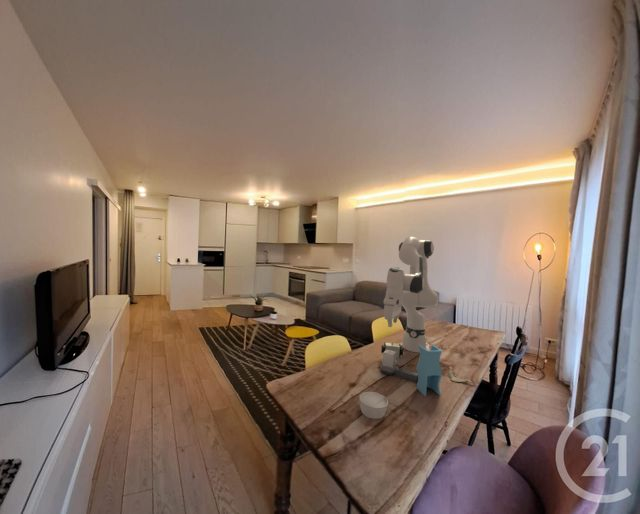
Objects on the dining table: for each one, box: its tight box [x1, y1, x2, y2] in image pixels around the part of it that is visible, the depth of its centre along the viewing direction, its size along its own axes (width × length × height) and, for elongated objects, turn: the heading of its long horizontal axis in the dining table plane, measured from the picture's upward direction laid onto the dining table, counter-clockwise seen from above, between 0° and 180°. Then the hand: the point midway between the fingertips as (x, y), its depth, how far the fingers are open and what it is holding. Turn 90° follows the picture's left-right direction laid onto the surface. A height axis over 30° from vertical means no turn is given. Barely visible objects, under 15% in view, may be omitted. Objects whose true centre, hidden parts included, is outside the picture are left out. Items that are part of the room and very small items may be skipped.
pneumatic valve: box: [380, 342, 404, 359], centre depth 151 cm, size 6×12×12 cm, turn 78°
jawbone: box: [447, 365, 474, 385], centre depth 141 cm, size 9×20×2 cm, turn 4°
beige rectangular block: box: [381, 349, 397, 369], centre depth 140 cm, size 5×5×7 cm
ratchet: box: [380, 362, 418, 383], centre depth 136 cm, size 8×24×8 cm, turn 59°
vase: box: [416, 344, 443, 397], centre depth 123 cm, size 8×8×20 cm
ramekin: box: [358, 391, 389, 420], centre depth 105 cm, size 11×11×5 cm
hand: (392, 324), depth 141 cm, fingers open, 8 cm apart
